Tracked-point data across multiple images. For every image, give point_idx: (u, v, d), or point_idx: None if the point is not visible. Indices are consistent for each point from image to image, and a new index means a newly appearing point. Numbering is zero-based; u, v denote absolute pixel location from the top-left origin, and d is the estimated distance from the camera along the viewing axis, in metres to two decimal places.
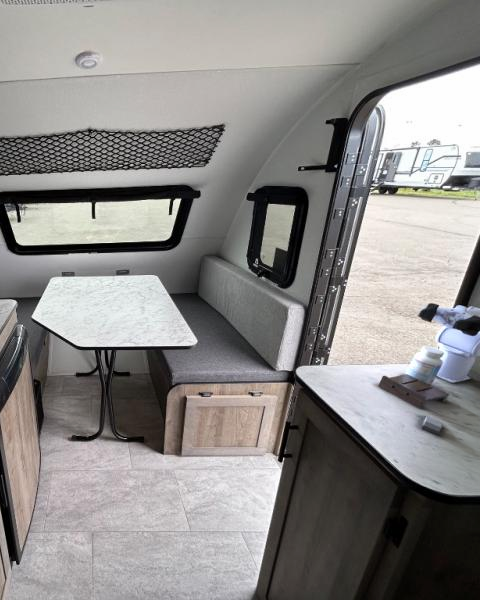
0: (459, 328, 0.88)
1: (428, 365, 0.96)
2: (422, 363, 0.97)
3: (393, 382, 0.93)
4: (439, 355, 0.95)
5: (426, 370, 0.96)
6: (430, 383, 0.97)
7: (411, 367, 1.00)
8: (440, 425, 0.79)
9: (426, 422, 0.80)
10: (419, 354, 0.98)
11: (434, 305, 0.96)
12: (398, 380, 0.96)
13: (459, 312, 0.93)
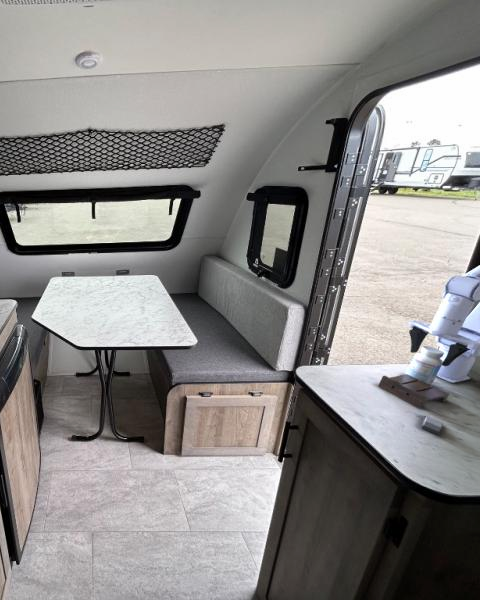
0: (451, 361, 0.93)
1: (428, 365, 0.96)
2: (422, 363, 0.97)
3: (393, 382, 0.93)
4: (439, 355, 0.95)
5: (426, 370, 0.96)
6: (430, 383, 0.97)
7: (411, 367, 1.00)
8: (440, 425, 0.79)
9: (426, 422, 0.80)
10: (419, 354, 0.98)
11: (414, 335, 0.99)
12: (398, 380, 0.96)
13: None
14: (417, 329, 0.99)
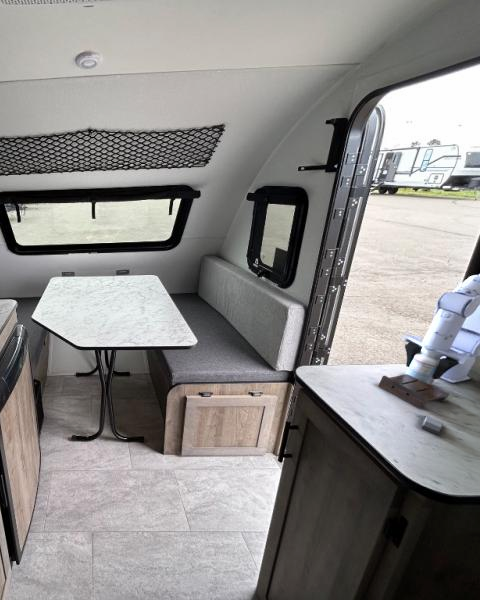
0: (442, 374, 0.96)
1: (428, 365, 0.96)
2: (422, 364, 0.97)
3: (393, 382, 0.93)
4: (439, 355, 0.94)
5: (426, 370, 0.96)
6: (430, 383, 0.97)
7: (411, 367, 1.00)
8: (440, 425, 0.79)
9: (426, 422, 0.80)
10: (419, 354, 0.98)
11: (410, 349, 1.00)
12: (398, 380, 0.96)
13: None
14: (413, 344, 1.00)
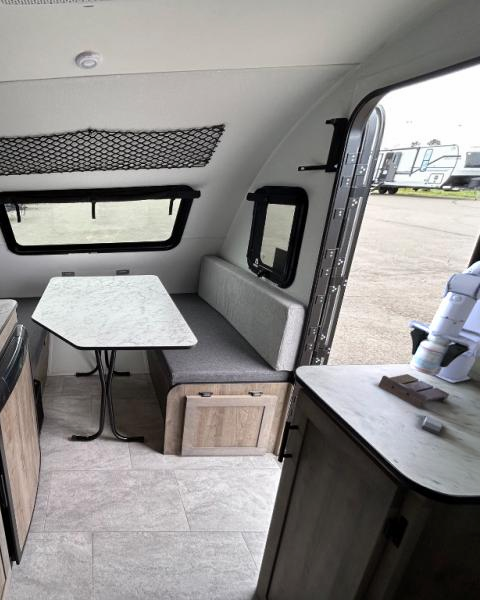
0: (450, 362, 0.90)
1: (436, 352, 0.90)
2: (429, 351, 0.91)
3: (393, 382, 0.93)
4: (447, 341, 0.88)
5: (433, 357, 0.90)
6: (437, 372, 0.91)
7: (417, 355, 0.94)
8: (440, 425, 0.79)
9: (426, 422, 0.80)
10: (426, 341, 0.92)
11: (416, 336, 0.94)
12: (398, 380, 0.96)
13: None
14: (419, 330, 0.94)
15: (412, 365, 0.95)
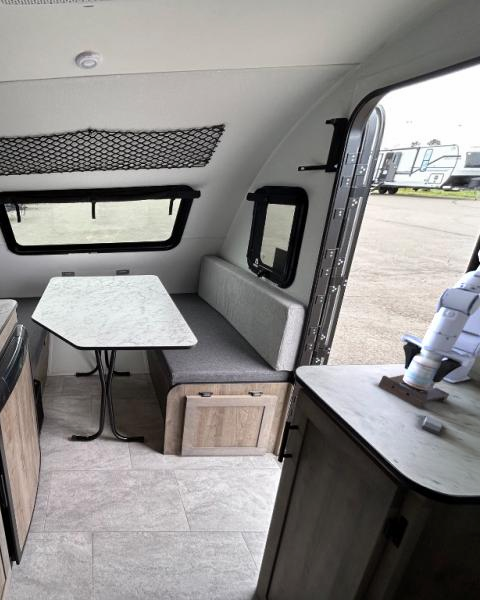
0: (443, 377, 0.88)
1: (428, 367, 0.88)
2: (421, 366, 0.90)
3: (393, 382, 0.93)
4: (440, 357, 0.87)
5: (426, 372, 0.89)
6: (430, 387, 0.90)
7: (410, 369, 0.92)
8: (440, 425, 0.79)
9: (426, 422, 0.80)
10: (419, 355, 0.91)
11: (408, 350, 0.93)
12: (398, 380, 0.96)
13: None
14: (412, 344, 0.93)
15: (405, 380, 0.94)
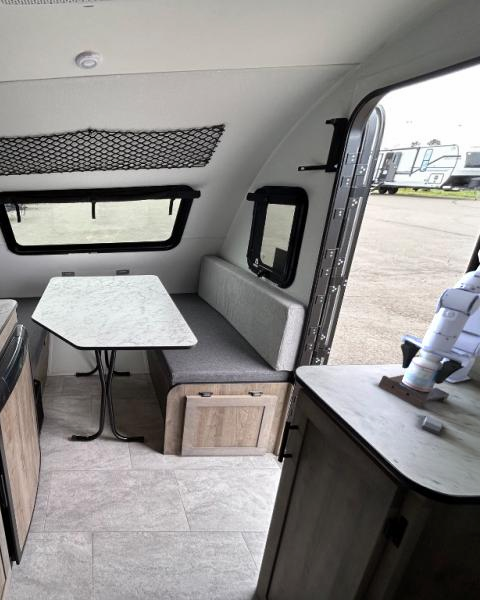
0: (445, 378, 0.88)
1: (428, 369, 0.89)
2: (421, 367, 0.90)
3: (393, 382, 0.93)
4: (439, 358, 0.87)
5: (425, 374, 0.89)
6: (430, 388, 0.90)
7: (409, 371, 0.93)
8: (440, 425, 0.79)
9: (426, 422, 0.80)
10: (418, 357, 0.91)
11: (406, 350, 0.93)
12: (398, 380, 0.96)
13: None
14: (409, 344, 0.94)
15: (404, 381, 0.94)
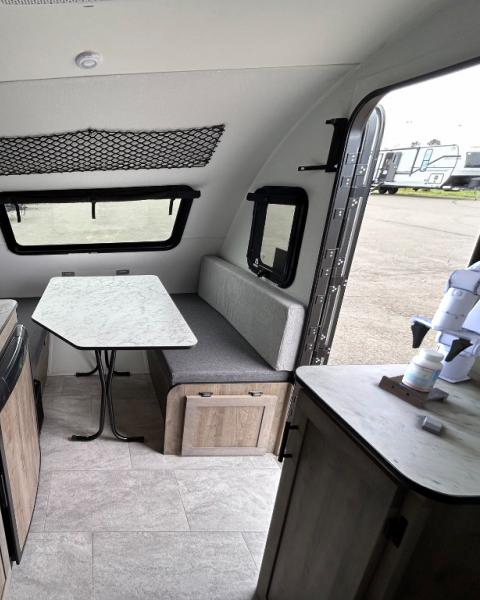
0: (454, 357, 0.91)
1: (428, 369, 0.89)
2: (421, 367, 0.90)
3: (393, 382, 0.93)
4: (439, 358, 0.87)
5: (425, 374, 0.89)
6: (430, 388, 0.90)
7: (409, 371, 0.93)
8: (440, 425, 0.79)
9: (426, 422, 0.80)
10: (418, 357, 0.91)
11: (416, 330, 0.97)
12: (398, 380, 0.96)
13: None
14: (419, 324, 0.97)
15: (404, 381, 0.94)
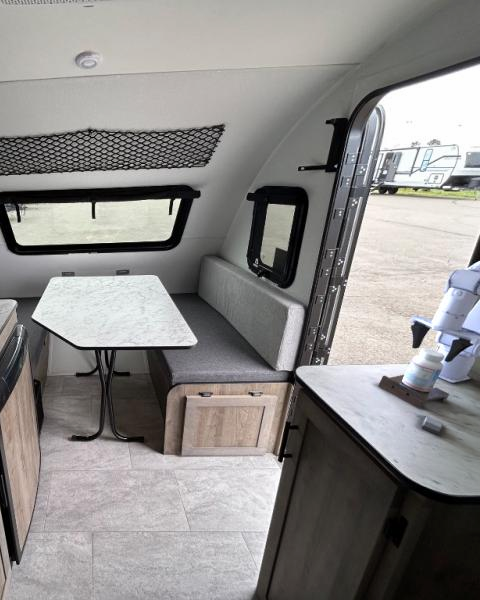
0: (454, 357, 0.91)
1: (428, 369, 0.89)
2: (421, 367, 0.90)
3: (393, 382, 0.93)
4: (439, 358, 0.87)
5: (425, 374, 0.89)
6: (430, 388, 0.90)
7: (409, 371, 0.93)
8: (440, 425, 0.79)
9: (426, 422, 0.80)
10: (418, 357, 0.91)
11: (416, 330, 0.97)
12: (398, 380, 0.96)
13: None
14: (419, 324, 0.97)
15: (404, 381, 0.94)
